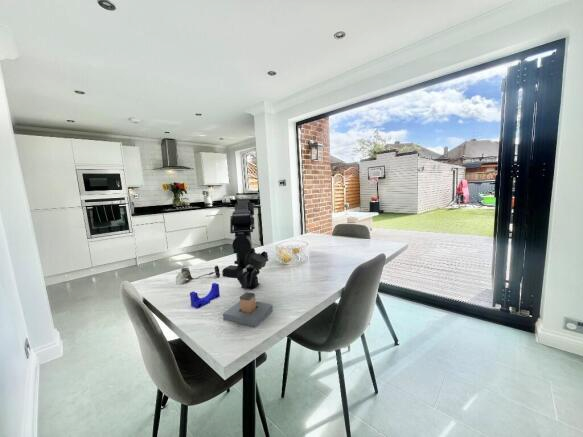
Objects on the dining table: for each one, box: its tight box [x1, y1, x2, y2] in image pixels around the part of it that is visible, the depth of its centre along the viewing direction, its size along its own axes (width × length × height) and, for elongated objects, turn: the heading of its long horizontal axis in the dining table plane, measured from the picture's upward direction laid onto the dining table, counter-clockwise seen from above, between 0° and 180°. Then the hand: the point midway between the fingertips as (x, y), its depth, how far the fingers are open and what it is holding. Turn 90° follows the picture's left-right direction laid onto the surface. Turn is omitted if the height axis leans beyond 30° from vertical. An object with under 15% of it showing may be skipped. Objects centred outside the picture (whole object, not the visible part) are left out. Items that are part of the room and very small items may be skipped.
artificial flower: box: [175, 265, 221, 285], centre depth 129 cm, size 9×22×10 cm, turn 102°
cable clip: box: [189, 282, 221, 309], centre depth 103 cm, size 12×4×6 cm, turn 143°
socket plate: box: [222, 300, 274, 328], centre depth 90 cm, size 14×12×2 cm
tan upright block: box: [239, 291, 256, 314], centre depth 90 cm, size 4×4×8 cm
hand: (246, 287), depth 89 cm, fingers open, 2 cm apart
